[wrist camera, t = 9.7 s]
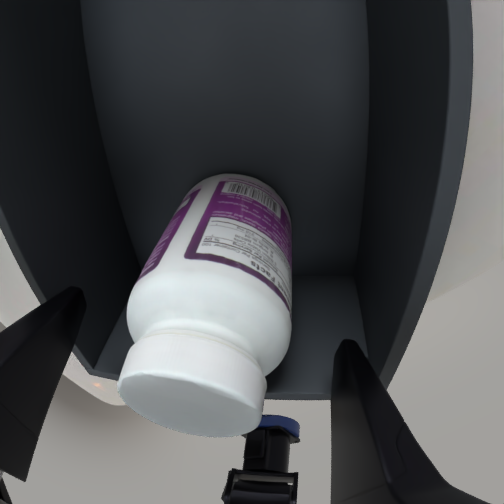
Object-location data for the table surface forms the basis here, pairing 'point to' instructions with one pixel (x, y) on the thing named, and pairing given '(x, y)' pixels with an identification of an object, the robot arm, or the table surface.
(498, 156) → the table surface
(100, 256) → the open storage box
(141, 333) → the pill bottle
